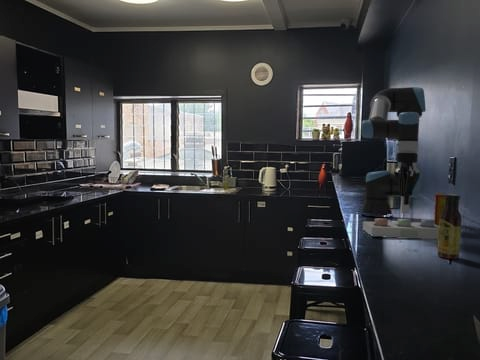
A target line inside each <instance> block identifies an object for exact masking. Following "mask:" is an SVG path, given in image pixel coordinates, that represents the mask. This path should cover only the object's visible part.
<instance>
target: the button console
mask: <svg viewBox="0 0 480 360" xmlns="http://www.w3.org/2000/svg"><path fill="white" fill-rule="evenodd" d="M374 222H375V221H364V220H363V221H362V231H363V230H365V231H366V232H367V233H368V234H370V235H371V236H386V237H408V238H421V239H420V240H438V235H439V226H438V225H435V226H434V228H430V227H421V222H411V227H399V226H397V225H398V221H396V222H395V221H394V222H393V221H388V226H374ZM408 238H407V239H408Z"/></svg>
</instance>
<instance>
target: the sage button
mask: <svg viewBox="0 0 480 360" xmlns="http://www.w3.org/2000/svg"><path fill="white" fill-rule="evenodd" d="M397 222H398V225H397V226H399V227H411V223H412V219H410V218H409V219H408V218H397Z"/></svg>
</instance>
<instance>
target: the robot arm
mask: <svg viewBox="0 0 480 360" xmlns="http://www.w3.org/2000/svg"><path fill="white" fill-rule="evenodd" d="M425 99H426V98H425V91H424V88H423V87H419V86H418V87H415V86H410V87H389V88H386V89H383V90H380V91H379V92H378V93H376V94H374V96H373V97H372V98H371V100H370V103H369V108H370V111H369V116H368V119H364V120H362V122H361V131H360V132H361V137H362V138H363V139H364V138H365V139H397V143H396V144H395V146H396V147H397V153H396V163H397V167H396V168H395V169H394V173H391V170H380V171H379V170H378V171H377V170H376V171H371V172H367V174H366V177H365V193H364V194H365V196H364V197H365V199H364V202H363V205H362V208H361V211H362V212H364V213H370V214H381V215H387V214H392V215H393V212H392V209H391V205H390V197H396V198H397V197H400V198H401V199H400V213H401V214H409V213H410V200H411V198H417V197H419V195H420V191H421V186H422V180H423V175H422V174H421V173H420V170H419V169H418V168H417V163H418V157H419V156H418V155H419V154H418V152H419V133H420V132H419V127H420V118H422V116H423V113H424V112H426V111H427V110H426V100H425ZM388 113H396V117H397V118H398V119H388Z"/></svg>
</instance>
